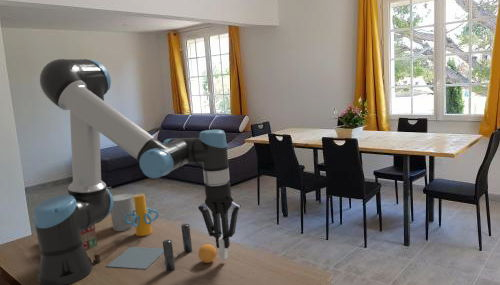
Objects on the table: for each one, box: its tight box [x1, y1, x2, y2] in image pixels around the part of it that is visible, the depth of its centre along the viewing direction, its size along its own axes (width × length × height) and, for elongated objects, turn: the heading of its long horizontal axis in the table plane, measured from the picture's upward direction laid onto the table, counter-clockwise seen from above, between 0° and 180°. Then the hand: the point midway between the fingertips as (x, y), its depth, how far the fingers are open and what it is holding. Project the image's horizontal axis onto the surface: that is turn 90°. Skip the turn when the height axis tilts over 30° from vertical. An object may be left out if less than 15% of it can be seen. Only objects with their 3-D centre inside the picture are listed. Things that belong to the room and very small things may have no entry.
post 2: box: [181, 223, 193, 254], centre depth 130 cm, size 3×3×9 cm
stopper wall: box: [93, 242, 118, 263], centre depth 133 cm, size 2×9×2 cm, turn 164°
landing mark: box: [106, 246, 164, 270], centre depth 129 cm, size 14×14×1 cm
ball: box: [198, 243, 217, 264], centre depth 122 cm, size 6×6×6 cm
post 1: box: [162, 239, 176, 273], centre depth 119 cm, size 3×3×9 cm
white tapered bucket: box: [110, 192, 136, 232], centre depth 158 cm, size 10×10×12 cm
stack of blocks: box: [81, 224, 98, 250], centre depth 147 cm, size 21×6×12 cm, turn 45°
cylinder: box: [125, 193, 159, 237], centre depth 149 cm, size 12×10×15 cm
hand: (224, 257), depth 121 cm, fingers closed
